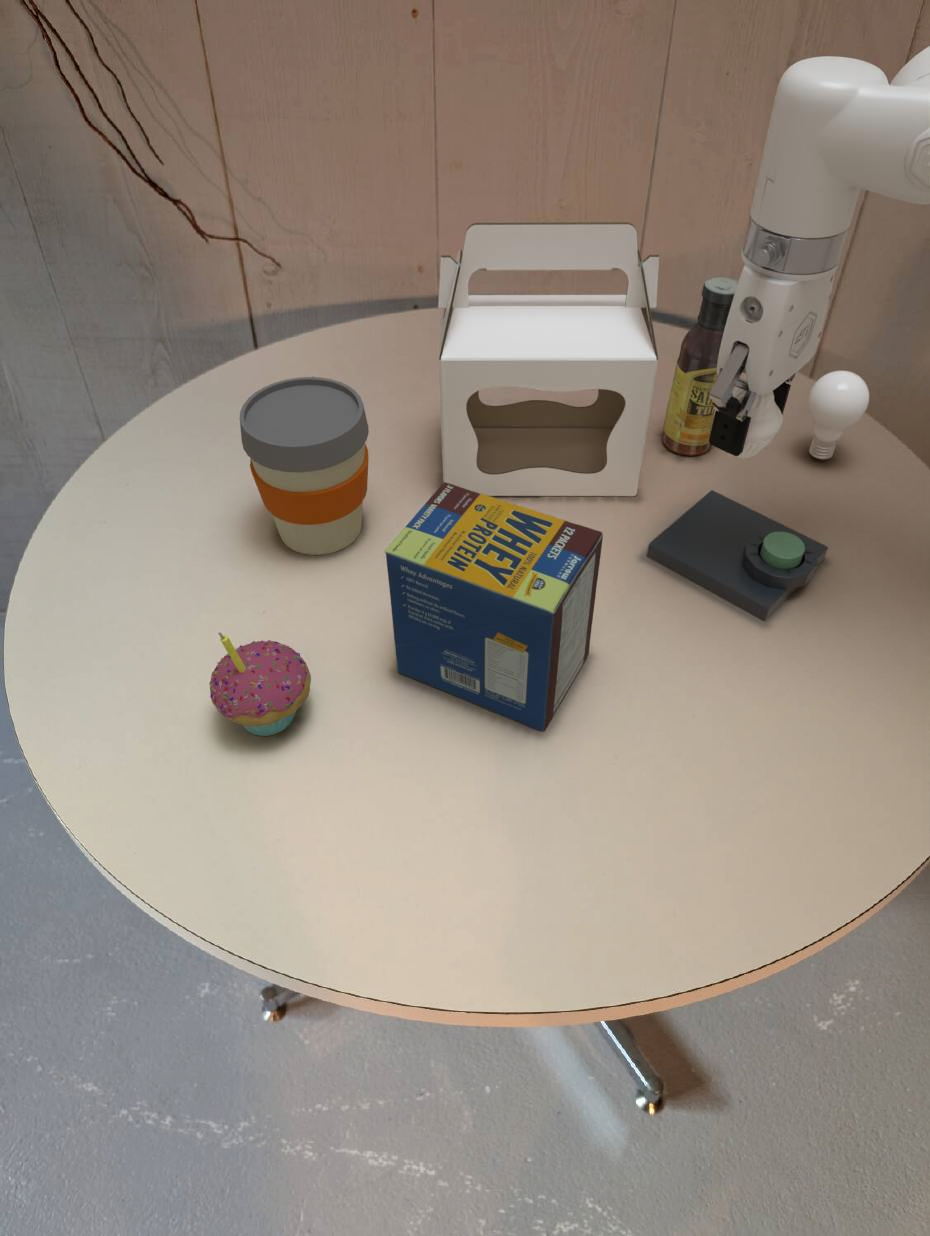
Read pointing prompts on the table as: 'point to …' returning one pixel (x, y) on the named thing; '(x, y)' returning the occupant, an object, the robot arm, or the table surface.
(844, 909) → the table surface
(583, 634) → the protein box
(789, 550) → the button
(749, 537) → the scale
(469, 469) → the gable box
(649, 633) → the table surface
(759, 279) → the robot arm
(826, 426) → the lightbulb
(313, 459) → the reusable coffee cup
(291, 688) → the cupcake
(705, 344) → the sauce bottle
